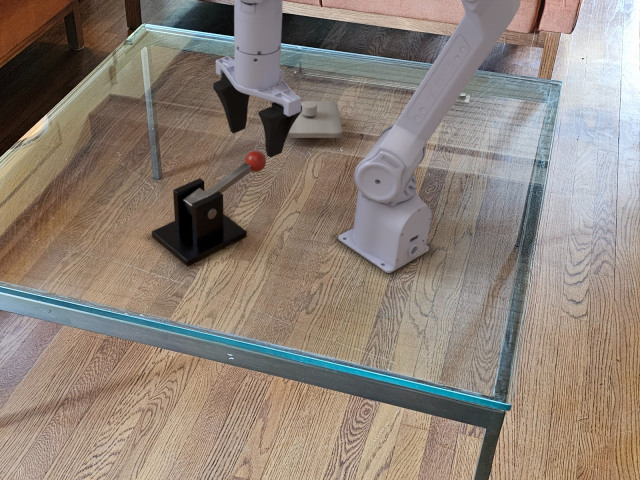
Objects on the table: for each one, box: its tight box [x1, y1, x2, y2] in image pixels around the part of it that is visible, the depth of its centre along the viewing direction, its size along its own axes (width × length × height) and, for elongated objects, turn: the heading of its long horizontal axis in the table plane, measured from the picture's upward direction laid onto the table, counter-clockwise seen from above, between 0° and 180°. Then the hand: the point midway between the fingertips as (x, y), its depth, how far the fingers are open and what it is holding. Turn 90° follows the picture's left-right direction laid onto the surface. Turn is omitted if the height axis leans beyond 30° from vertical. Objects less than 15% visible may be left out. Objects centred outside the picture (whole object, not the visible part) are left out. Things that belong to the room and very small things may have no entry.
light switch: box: [286, 100, 344, 139], centre depth 132 cm, size 10×10×5 cm
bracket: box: [151, 177, 248, 267], centre depth 110 cm, size 10×8×7 cm
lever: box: [183, 150, 267, 215], centre depth 111 cm, size 13×3×3 cm, turn 129°
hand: (255, 142), depth 112 cm, fingers open, 7 cm apart
